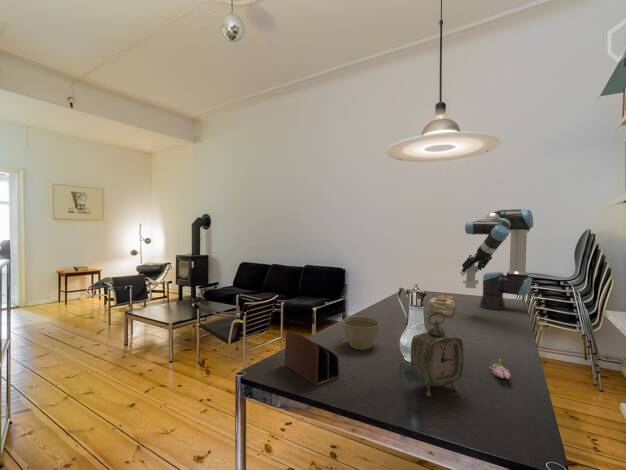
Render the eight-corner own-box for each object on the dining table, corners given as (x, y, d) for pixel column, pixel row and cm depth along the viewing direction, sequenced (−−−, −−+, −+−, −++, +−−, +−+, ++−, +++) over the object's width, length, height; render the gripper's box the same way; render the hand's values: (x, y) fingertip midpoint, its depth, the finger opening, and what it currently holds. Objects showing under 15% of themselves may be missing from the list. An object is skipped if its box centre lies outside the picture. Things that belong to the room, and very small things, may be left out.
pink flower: (487, 370, 120) (494, 381, 106) (487, 354, 120) (494, 363, 107) (506, 373, 117) (516, 385, 103) (506, 356, 118) (515, 366, 104)
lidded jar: (438, 310, 203) (438, 295, 203) (435, 306, 213) (435, 292, 213) (456, 311, 201) (456, 296, 201) (452, 307, 212) (452, 293, 211)
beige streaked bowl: (432, 310, 203) (432, 297, 203) (452, 312, 198) (452, 299, 197) (429, 314, 193) (429, 301, 193) (450, 317, 187) (450, 303, 187)
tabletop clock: (427, 400, 96) (428, 317, 95) (407, 387, 104) (408, 310, 103) (462, 391, 101) (464, 313, 101) (441, 378, 110) (442, 306, 109)
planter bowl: (334, 346, 140) (335, 321, 139) (356, 337, 151) (356, 314, 151) (365, 356, 129) (366, 329, 128) (386, 346, 140) (386, 321, 140)
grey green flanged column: (463, 285, 194) (464, 262, 194) (478, 287, 190) (478, 263, 190) (462, 287, 187) (463, 264, 187) (478, 289, 183) (478, 264, 183)
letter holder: (316, 387, 104) (316, 344, 103) (284, 366, 120) (284, 328, 119) (339, 378, 110) (339, 338, 109) (305, 359, 126) (306, 324, 125)
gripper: (498, 244, 181) (477, 269, 197) (468, 244, 177) (449, 269, 193) (505, 254, 175) (483, 279, 192) (475, 254, 172) (455, 279, 188)
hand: (466, 274), depth 192 cm, fingers closed on grey green flanged column, 6 cm apart
